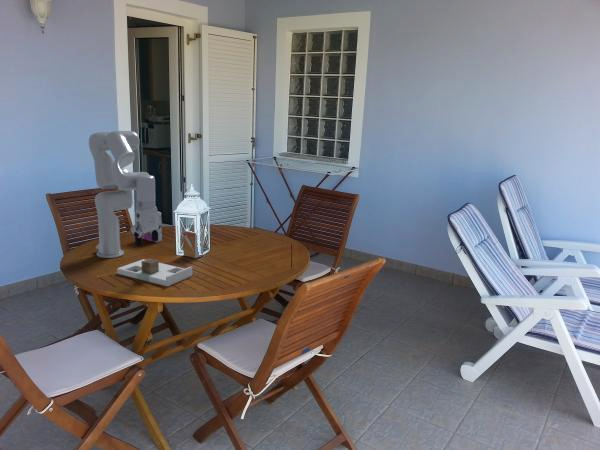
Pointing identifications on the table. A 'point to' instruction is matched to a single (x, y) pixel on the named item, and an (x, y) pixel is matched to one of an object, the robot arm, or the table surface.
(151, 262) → the walnut block
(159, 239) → the candy bar box
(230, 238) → the table surface
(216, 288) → the table surface
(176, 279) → the deck
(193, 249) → the small box
